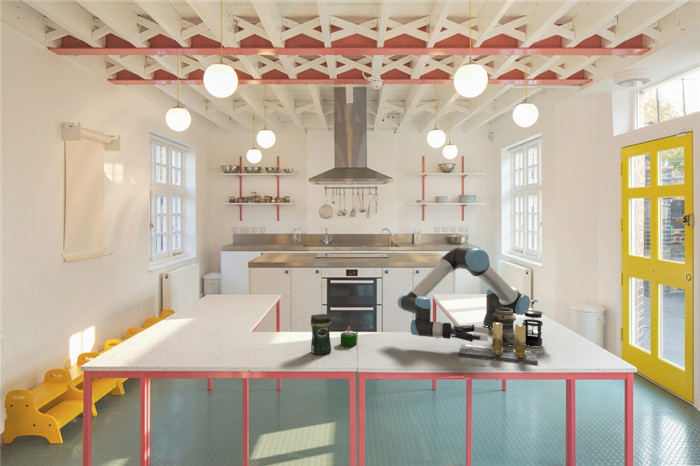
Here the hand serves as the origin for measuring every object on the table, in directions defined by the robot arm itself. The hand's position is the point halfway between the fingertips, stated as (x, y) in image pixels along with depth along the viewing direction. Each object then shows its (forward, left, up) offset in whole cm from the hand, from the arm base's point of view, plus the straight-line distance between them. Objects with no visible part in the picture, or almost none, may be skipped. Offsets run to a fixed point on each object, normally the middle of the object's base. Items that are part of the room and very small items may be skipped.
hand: (488, 334), depth 197 cm
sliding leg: (+4, +1, -8) cm, 9 cm away
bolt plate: (+3, +3, -10) cm, 11 cm away
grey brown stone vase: (-7, +21, -10) cm, 24 cm away
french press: (+2, +32, -10) cm, 33 cm away
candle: (-49, -47, -10) cm, 69 cm away
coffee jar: (-46, -65, -10) cm, 80 cm away
